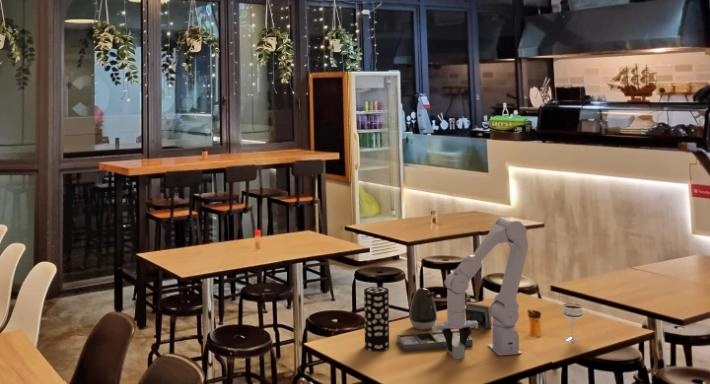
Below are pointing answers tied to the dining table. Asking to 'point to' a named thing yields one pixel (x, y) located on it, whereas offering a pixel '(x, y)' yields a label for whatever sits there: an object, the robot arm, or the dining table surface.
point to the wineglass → (572, 316)
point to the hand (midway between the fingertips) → (455, 350)
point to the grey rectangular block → (457, 349)
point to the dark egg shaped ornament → (423, 310)
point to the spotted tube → (376, 318)
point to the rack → (427, 341)
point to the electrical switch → (479, 314)
